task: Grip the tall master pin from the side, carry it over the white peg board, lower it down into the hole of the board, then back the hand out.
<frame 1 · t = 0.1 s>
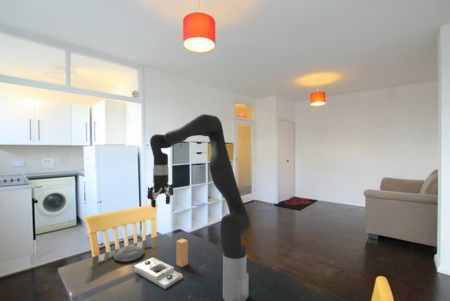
hand: (160, 205, 115), 29 cm above the table, tool pointing down, fingers open, 8 cm apart
white peg board: (158, 274, 104), on the table
master pin: (182, 264, 114), on the table
flying saucer: (129, 257, 122), on the table
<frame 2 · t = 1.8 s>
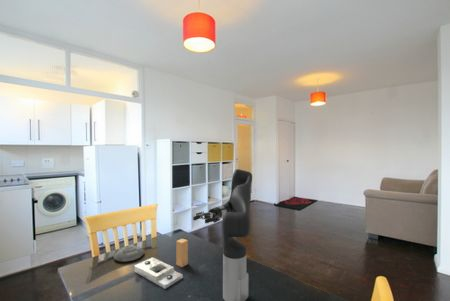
hand: (199, 220, 124), 19 cm above the table, tool horizontal, fingers open, 8 cm apart
nothing on the table moved.
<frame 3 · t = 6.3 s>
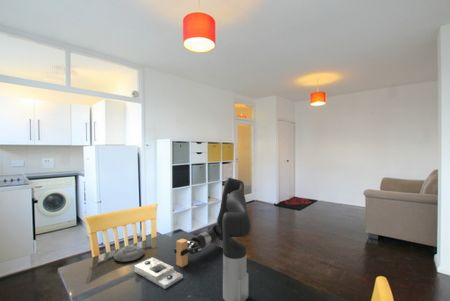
hand: (177, 252, 111), 7 cm above the table, tool horizontal, fingers closed on master pin, 4 cm apart
master pin: (182, 264, 114), on the table, touching gripper
everything else where it was.
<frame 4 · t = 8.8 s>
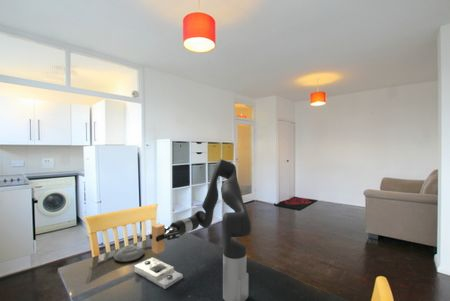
hand: (153, 238, 102), 18 cm above the table, tool horizontal, fingers closed on master pin, 4 cm apart
master pin: (158, 251, 104), point 11 cm above the table, touching gripper
everything else where it was.
when the fingers open (8 cm above the table, at t = 11.4 s): master pin drops 1 cm, resting in white peg board.
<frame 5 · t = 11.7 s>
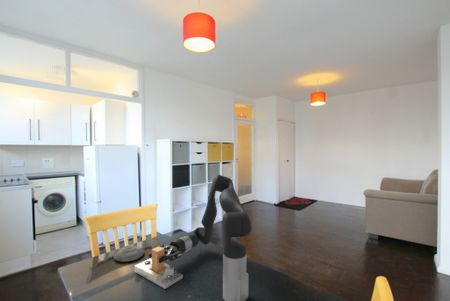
hand: (154, 258, 102), 9 cm above the table, tool horizontal, fingers open, 7 cm apart
master pin: (158, 274, 104), resting in white peg board
everything else where it was.
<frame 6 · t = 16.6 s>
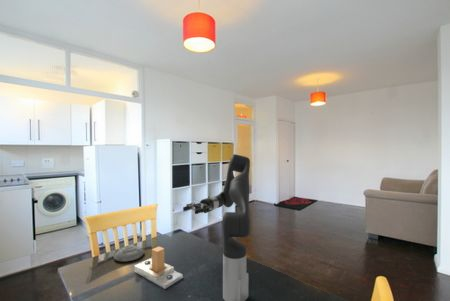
hand: (189, 210, 117), 26 cm above the table, tool horizontal, fingers open, 8 cm apart
nothing on the table moved.
at the end: master pin 0.0 cm off-centre on the white peg board, point 0.0 cm above the white peg board's base; master pin tilted 0°; the gripper is holding nothing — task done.
